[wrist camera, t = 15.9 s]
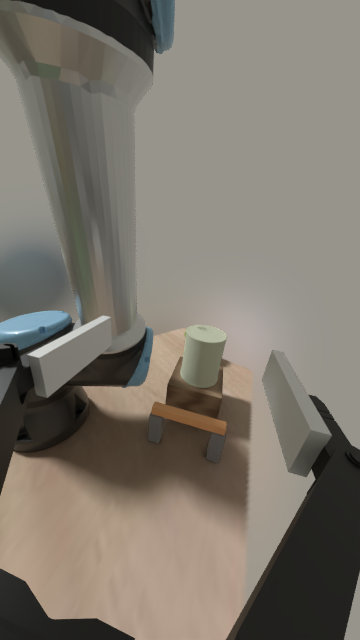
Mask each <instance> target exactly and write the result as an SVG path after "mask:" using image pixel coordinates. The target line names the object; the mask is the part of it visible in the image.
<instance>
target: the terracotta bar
mask: <svg viewBox="0 0 360 640" xmlns="http://www.w3.org/2000/svg"><path fill="white" fill-rule="evenodd" d="M152 414H154V415H157V416H160V417H164V418H167V419H170V420H174V421H177V422H180V423H184V424H187V425H190V426H194V427H197V428H200V429H204V430H207V431H210V432H214V433H217V434H220V435H224V436H225V432H226V422H225V421H221V420H218V419H214V418H211V417H207V416H204V415H200V414H197V413H193V412H190V411H187V410H183V409H180V408H176V407H173V406H169V405H166V404H162V403H159V402H154V405H153V407H152Z"/></svg>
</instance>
